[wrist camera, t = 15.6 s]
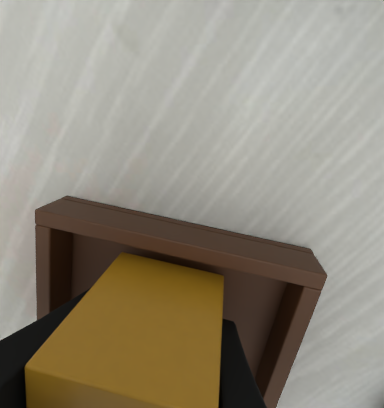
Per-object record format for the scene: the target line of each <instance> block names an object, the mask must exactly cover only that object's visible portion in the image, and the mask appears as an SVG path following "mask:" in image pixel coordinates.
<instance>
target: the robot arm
mask: <svg viewBox="0 0 384 408" xmlns="http://www.w3.org/2000/svg"><path fill="white" fill-rule="evenodd" d="M90 289H91V288H89V289H88V290H86V291H84V292H83V293H81V294H80V295H78V296H76V297H75V298H73V299H72V300H70V301H68V302H67V303H65V304H63V305H62V306H60V307H59V308H57V309H55V310H54V311H52V312H50V313H49V314H47V315H45V316H44V317H42V318H40V319H39V320H37V321H35V322H33V323H32V324H30V325H28V326H26V327H24V328H23V329H21V330H19V331H17V332H15V333H13V334H12V335H10V336H8V337H6V338H4V339H3V340H1V341H0V408H26V388H25V366H26V364H27V362H28V361H29V360H30V359H31V358H32V357H33V355H34V354H35V353H36V352H37V351H38V350H39V348H40V347H41V346H42V345H43V344H44V343H45V341H46V340H47V339H48V338H49V337H50V335H51V334H52V333H53V332H54V331H55V330H56V328H57V327H58V326H59V325H60V324H61V323H62V321H63V320H64V319H65V318H66V317H67V316H68V314H69V313H70V312H71V311H72V310H73V309H74V307H75V306H76V305H77V304H78V303H79V301H80V300H81V299H82V298H83V297H84V296H85V294H86V293H87V292H88V291H89V290H90ZM219 408H267V407H266V404H265V402H264V400H263V398H262V396H261V393H260V391H259V389H258V386H257V384H256V381H255V379H254V376H253V374H252V371H251V369H250V367H249V364H248V361H247V359H246V356H245V353H244V350H243V347H242V344H241V341H240V338H239V335H238V331H237V328H236V324H235V323H234V321H230V320H226V319H222V338H221V362H220V385H219Z"/></svg>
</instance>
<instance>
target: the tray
mask: <svg viewBox="0 0 384 408" xmlns="http://www.w3.org/2000/svg"><path fill="white" fill-rule="evenodd" d="M35 224H37V225H36V226H35V233H36V292H37V320H39V319H40V318H42V317H44V316H45V315H47V314H49V313H50V312H52V311H54V310H55V309H57V308H59V307H60V306H62V305H63V304H65V303H67V302H68V301H70V300H72V299H73V298H75V297H76V296H78V295H80V294H81V293H83V292H84V291H86V290H88V289H89V288H91V287H92V286H93V285H94V284H95V283H96V282H97V280H98V279H99V278H100V277H101V276H102V275H103V273H104V272H105V271H106V270H107V269H108V267H109V266H110V265H111V264H112V263H113V262H114V260H115V259H116V258H117V257H118V256H119V255H120V253H121V252H125V253H129V254H133V255H138V256H142V257H146V258H151V259H155V260H159V261H164V262H168V263H172V264H176V265H181V266H185V267H189V268H194V269H198V270H202V271H207V272H211V273H215V274H219V275H223V276H224V291H223V314H222V319H226V320H230V321H234V323H235V324H236V328H237V331H238V335H239V338H240V341H241V344H242V347H243V350H244V353H245V356H246V359H247V361H248V364H249V367H250V369H251V371H252V374H253V376H254V379H255V381H256V384H257V386H258V389H259V391H260V393H261V396H262V398H263V400H264V402H265V404H266V407H267V408H276V406H277V403H278V400H279V398H280V395H281V393H282V390H283V388H284V385H285V383H286V380H287V378H288V375H289V373H290V370H291V367H292V365H293V362H294V360H295V357H296V355H297V352H298V350H299V347H300V345H301V342H302V339H303V337H304V334H305V332H306V329H307V327H308V324H309V322H310V319H311V317H312V314H313V311H314V309H315V306H316V304H317V301H318V299H319V296H320V294H321V290H322V288H323V286H324V283H325V281H326V278H327V274H326V273H325V271H324V269H323V268H322V266H321V265H320V263H319V262H318V260H317V258H316V257H315V255H314V254H313V252H312V250H311V249H307V248H303V247H298V246H294V245H289V244H284V243H280V242H275V241H271V240H266V239H262V238H257V237H252V236H248V235H243V234H239V233H234V232H230V231H225V230H220V229H216V228H211V227H207V226H202V225H197V224H193V223H188V222H184V221H179V220H175V219H170V218H165V217H161V216H156V215H152V214H147V213H142V212H138V211H133V210H129V209H124V208H120V207H115V206H110V205H106V204H101V203H97V202H92V201H88V200H83V199H78V198H74V197H69V196H65V197H63V198H61V199H59V200H56V201H54V202H52V203H49V204H47V205H45V206H43V207H40V208H38V209H36V210H35Z"/></svg>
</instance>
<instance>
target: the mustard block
mask: <svg viewBox="0 0 384 408" xmlns="http://www.w3.org/2000/svg"><path fill="white" fill-rule="evenodd" d="M223 291H224V276H223V275H219V274H215V273H211V272H207V271H202V270H198V269H194V268H189V267H185V266H181V265H176V264H172V263H168V262H164V261H159V260H155V259H151V258H146V257H142V256H138V255H133V254H129V253H125V252H121V253H120V255H119V256H118V257H117V258H116V259H115V260H114V262H113V263H112V264H111V265H110V266H109V267H108V269H107V270H106V271H105V272H104V273H103V275H102V276H101V277H100V278H99V279H98V280H97V282H96V283H95V284H94V285H93V286H92V287H91V289H90V290H89V291H88V292H87V293H86V294H85V296H84V297H83V298H82V299H81V300H80V301H79V303H78V304H77V305H76V306H75V307H74V309H73V310H72V311H71V312H70V313H69V314H68V316H67V317H66V318H65V319H64V320H63V321H62V323H61V324H60V325H59V326H58V327H57V328H56V330H55V331H54V332H53V333H52V334H51V335H50V337H49V338H48V339H47V340H46V341H45V343H44V344H43V345H42V346H41V347H40V348H39V350H38V351H37V352H36V353H35V354H34V355H33V357H32V358H31V359H30V360H29V361H28V362H27V364H26V366H25V388H26V408H219V385H220V362H221V338H222V314H223Z"/></svg>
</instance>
